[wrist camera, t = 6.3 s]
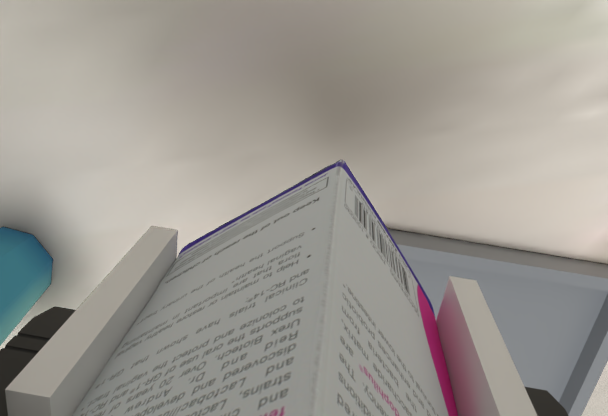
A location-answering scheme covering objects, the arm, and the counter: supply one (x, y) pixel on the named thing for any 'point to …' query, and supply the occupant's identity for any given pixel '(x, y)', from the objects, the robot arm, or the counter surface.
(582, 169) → the counter surface
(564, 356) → the tray
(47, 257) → the cup
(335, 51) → the counter surface
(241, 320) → the supplement box
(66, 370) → the robot arm
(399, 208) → the counter surface
